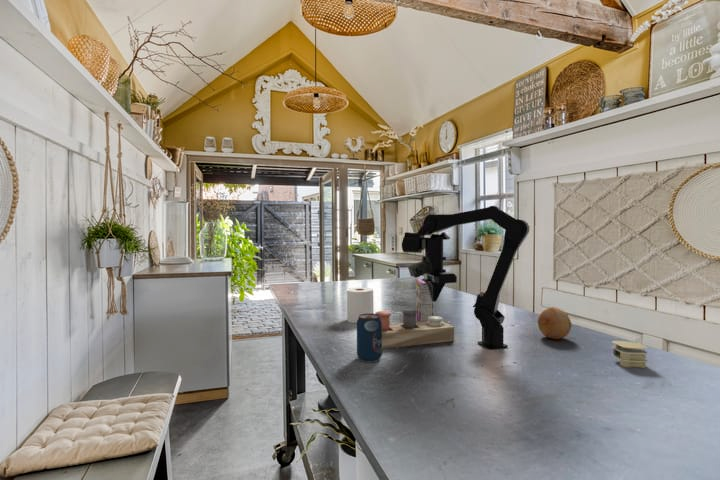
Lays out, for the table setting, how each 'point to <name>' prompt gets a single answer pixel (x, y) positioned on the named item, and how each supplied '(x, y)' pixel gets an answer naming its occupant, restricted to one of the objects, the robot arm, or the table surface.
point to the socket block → (416, 334)
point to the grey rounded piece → (409, 318)
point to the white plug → (435, 320)
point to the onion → (554, 323)
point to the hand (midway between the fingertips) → (434, 301)
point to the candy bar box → (423, 301)
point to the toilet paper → (359, 303)
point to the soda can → (369, 337)
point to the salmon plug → (384, 319)
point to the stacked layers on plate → (630, 354)
